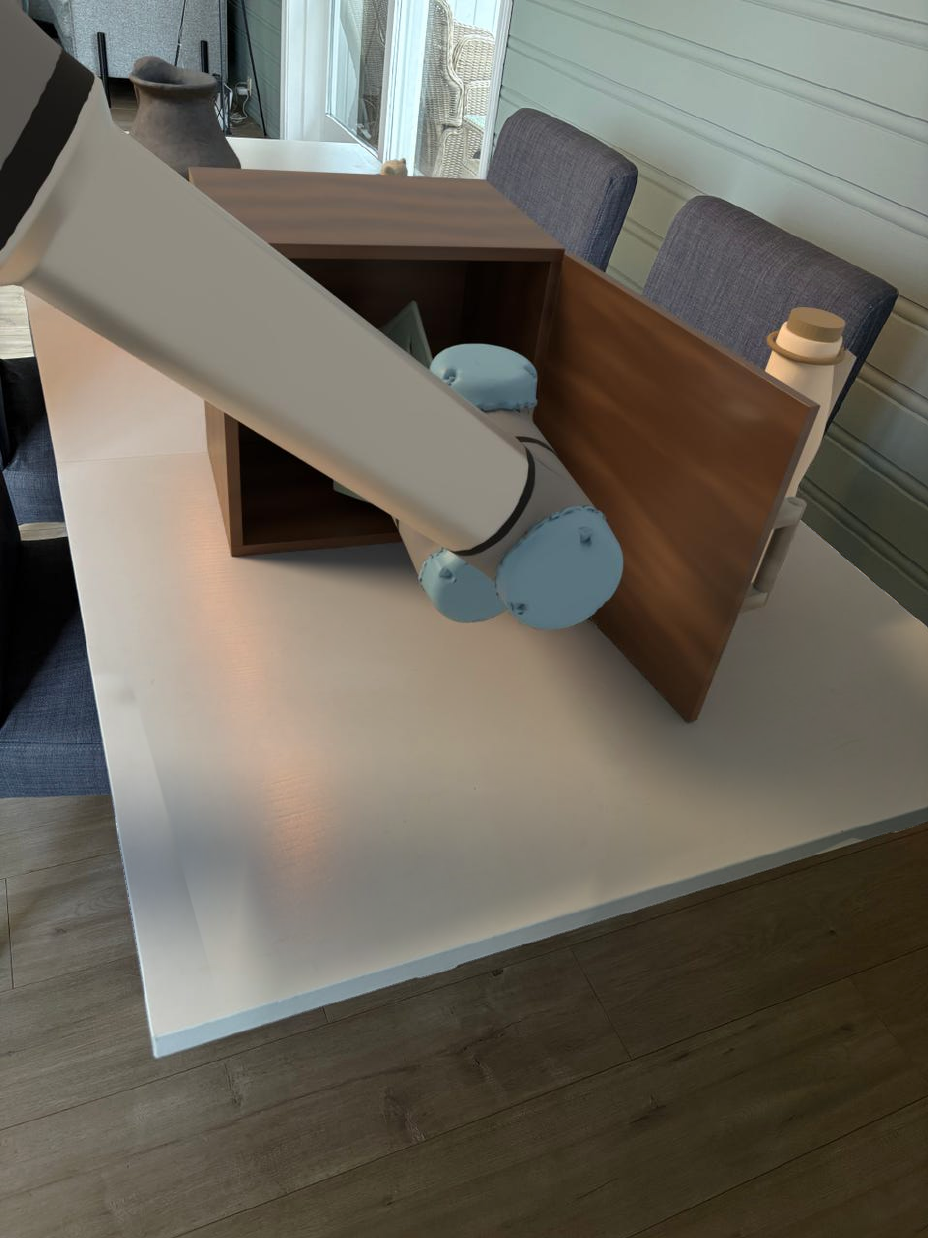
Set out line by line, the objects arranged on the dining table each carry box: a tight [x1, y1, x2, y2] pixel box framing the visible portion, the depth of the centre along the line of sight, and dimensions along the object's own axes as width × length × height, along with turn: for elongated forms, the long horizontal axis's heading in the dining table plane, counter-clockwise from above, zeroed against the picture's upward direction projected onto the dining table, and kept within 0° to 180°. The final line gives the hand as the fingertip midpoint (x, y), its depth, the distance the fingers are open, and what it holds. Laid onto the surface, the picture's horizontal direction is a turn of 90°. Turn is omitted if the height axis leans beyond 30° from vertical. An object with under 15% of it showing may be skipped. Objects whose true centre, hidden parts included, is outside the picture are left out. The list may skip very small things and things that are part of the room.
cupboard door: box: [534, 252, 820, 723], centre depth 82 cm, size 7×30×30 cm, turn 28°
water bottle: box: [751, 306, 858, 583], centre depth 91 cm, size 10×9×28 cm
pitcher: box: [127, 55, 242, 182], centre depth 161 cm, size 21×22×25 cm
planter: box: [333, 300, 433, 503], centre depth 91 cm, size 16×8×20 cm, turn 25°
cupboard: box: [189, 167, 566, 557], centre depth 94 cm, size 22×30×30 cm
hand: (364, 369), depth 94 cm, fingers closed on planter, 8 cm apart
